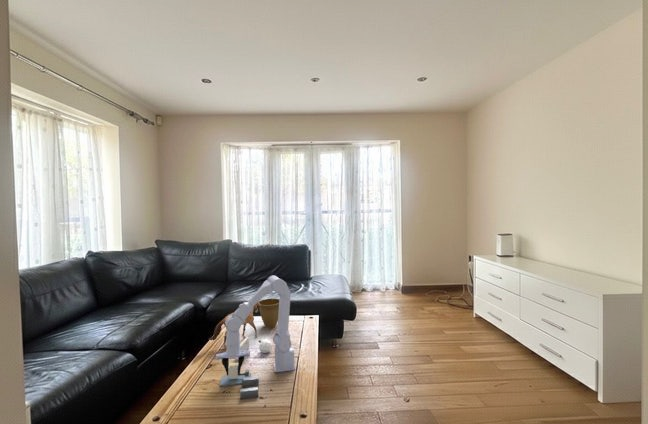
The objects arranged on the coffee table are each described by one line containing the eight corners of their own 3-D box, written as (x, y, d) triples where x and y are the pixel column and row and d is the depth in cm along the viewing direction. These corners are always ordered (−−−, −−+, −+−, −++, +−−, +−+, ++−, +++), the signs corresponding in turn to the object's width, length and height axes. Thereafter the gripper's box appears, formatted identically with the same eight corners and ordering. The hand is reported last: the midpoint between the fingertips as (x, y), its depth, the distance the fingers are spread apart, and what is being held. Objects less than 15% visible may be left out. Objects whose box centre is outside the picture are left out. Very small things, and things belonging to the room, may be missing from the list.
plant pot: (274, 319, 208) (273, 296, 208) (285, 326, 197) (285, 301, 197) (254, 325, 199) (254, 301, 199) (265, 332, 187) (265, 306, 187)
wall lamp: (249, 372, 138) (249, 361, 138) (248, 377, 134) (248, 365, 134) (230, 374, 137) (229, 362, 137) (228, 379, 133) (228, 367, 133)
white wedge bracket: (255, 349, 159) (248, 337, 156) (241, 365, 153) (234, 353, 149) (251, 347, 162) (244, 335, 158) (237, 363, 155) (230, 351, 152)
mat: (251, 374, 139) (251, 373, 139) (250, 382, 132) (250, 381, 132) (221, 377, 137) (221, 376, 137) (219, 386, 130) (219, 385, 130)
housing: (258, 383, 132) (258, 376, 132) (258, 397, 122) (258, 389, 122) (242, 385, 131) (242, 378, 131) (240, 399, 121) (240, 391, 121)
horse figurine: (257, 332, 187) (257, 299, 187) (264, 336, 182) (264, 302, 182) (208, 348, 166) (208, 311, 166) (214, 353, 160) (214, 315, 160)
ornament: (267, 356, 156) (258, 345, 156) (262, 355, 162) (254, 345, 162) (276, 346, 160) (267, 335, 160) (271, 346, 166) (263, 336, 166)
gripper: (214, 349, 129) (215, 380, 129) (249, 345, 132) (249, 376, 132) (217, 342, 136) (217, 372, 136) (250, 339, 139) (250, 368, 139)
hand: (233, 373), depth 134 cm, fingers closed on wall lamp, 4 cm apart
